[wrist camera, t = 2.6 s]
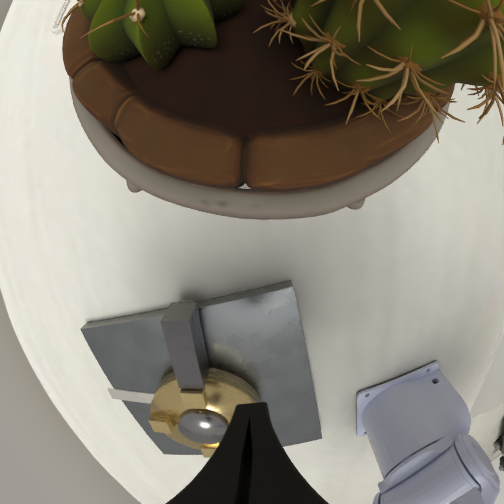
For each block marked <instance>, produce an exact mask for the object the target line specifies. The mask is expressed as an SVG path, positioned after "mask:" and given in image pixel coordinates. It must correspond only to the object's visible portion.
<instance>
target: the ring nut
mask: <svg viewBox="0 0 504 504" xmlns="http://www.w3.org/2000/svg"><path fill="white" fill-rule="evenodd" d="M160 322H161V326H162V330H163V334H164V338H165V341H166V345H167V349H168V353H169V356H170V360H171V363H172V366H173V370H174V371H173V372H171V373H169V374H167V375H166V376H165V377H164V378H163V379H162V380H161V381H160V383H159V385H158V388H157V390H156V392H155V395H154V397H153V399H152V402H151V405H150V413H151V414H150V417H149V419H148V421H149V423H150V425H151V427H152V429H153V431H154V432H159V433H164V434H165V435H167V436H168V437H169V438H171V439H173V440H174V441H176V442H178V443H180V444H182V445H185V446H188V447H191V448H194V449H198V450H201V451H202V454H203V456H204V457H211V456H212V455H213V453H214V451H215V450H216V448H217V446H218V445H219V443H220V441H221V440H222V438H223V436H224V434H225V432H226V430H227V428H228V425H229V423H230V421H231V418H232V416H233V413H234V410H235V407H236V405H238V404H247V403H257V402H260V399H259V396H258V394H257V393H256V391H255V390H254V389H253V388H252V386H250V385H249V384H248V383H247V382H246V381H244V380H243V379H241V378H239V377H238V376H236V375H234V374H231V373H229V372H226V371H223V370H220V369H215V368H209V362H208V357H207V352H206V347H205V342H204V337H203V332H202V326H201V321H200V315H199V309H198V304H197V302H180V303H171V305H170V306H169V308H168V310H167V311H166V313H165V314H164V316H163V317H162V319H161V321H160Z"/></svg>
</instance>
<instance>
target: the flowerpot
mask: <svg viewBox="0 0 504 504" xmlns="http://www.w3.org/2000/svg"><path fill="white" fill-rule="evenodd" d="M77 1H78V3H77V4H76V5H75V6H74V7H72V8H71V9H70V10H71V11H69V12H68V14H67V15H66V16H65V17H64V19H63V21H62V31H63V32H64V36H63V47H62V51H63V61H64V65H65V69H66V72H67V74H68V75H69V79H70V88H71V95H72V99H73V104H74V107H75V110H76V113H77V116H78V118H79V121H80V123H81V125H82V127H83V129H84V131H85V133H86V135H87V136H88V138H89V140H90V141H91V143H92V144H93V146H94V147H95V149H96V150H97V152H98V153H99V154H100V156H101V157H102V158H103V159H104V160H105V162H106V163H107V164H108V165H109V166H110V167H111V168H112V169H113V170H115V171H116V172H117V173H118V174H119V175H121V176H122V177H123V178H125V179H126V180H127V186H128V189H129V190H130V191H131V192H134V193H135V192H139V191H141V190H144V191H145V192H147V193H149V194H151V195H154V196H156V197H158V198H160V199H163V200H165V201H168V202H171V203H174V204H177V205H180V206H184V207H187V208H191V209H195V210H198V211H202V212H207V213H212V214H217V215H221V216H228V217H235V218H244V219H262V220H266V219H294V218H305V217H313V216H319V215H324V214H328V213H331V212H334V211H337V210H339V209H342V208H344V207H346V206H347V207H349V208H351V209H355V210H356V209H359V208H361V207H362V206H363V204H364V201H365V198H366V197H368V196H370V195H372V194H374V193H376V192H378V191H379V190H381V189H383V188H385V187H386V186H388V185H389V184H391V183H392V182H394V181H395V180H397V179H398V178H399V177H400V176H402V175H403V174H404V173H405V172H407V171H408V170H409V169H410V168H411V167H412V166H413V165H414V164H415V163H416V162H417V161H418V160H419V159H420V158H421V157H422V156H423V155H424V153H425V152H426V151H427V150H428V149H429V147H430V146H431V144H432V143H433V142H434V140H435V139H436V137H437V140H438V143H439V138H438V133H439V131H440V129H441V127H442V125H443V123H444V120H445V117H446V115H448V116H450V117H451V118H453V119H455V120H458V121H462V120H460V119H458V118H455V117H453V116H452V115H450V114H449V113H447V112H448V108H449V104H450V103H452V102H456V101H450V100H453V99H451V97H452V94H453V91H454V86H455V83H462V84H463V85H462V88H463V87H464V85H465V84H469V85H474V86H475V87H476V88H467V89H470V90H475V91H476V90H477V92H476V93H473V94H468V95H475V94H478V96H479V93H480V92H482V91H483V89H485V93H484V94H483V95H482V97H480V98H478V99H481V98H483V97H484V96H485V95H486V99H485V100H484V101H483V102H482V103H480V104H479V105H476V106H474V107H471V108H469V109H467V110H470V109H476V108H480V107H481V106H482V105H484V104H485V103H486V106H485V109H484V112H483V114H482V115H481V116H480V117H479V118H480V119H479V121H478V123H479V122H480V120H481V119H482V118H483V117H484V116H485V115H486V114H487V113H488V111H489V110H490V108H491V107H492V105H493V104H494V100H495V101H496V103H497V105H498V108H499V112H500V115H501V120H502V125H503V114H502V111H501V107H500V104H499V101H498V99H499V100H500V101H501V102H502V103H503V104H504V91H503V90H504V0H77ZM71 13H72V14H71ZM70 14H71V16H70V18H69V20H68V23H67V25H66V28H65V31H64V30H63V23H64V22H65V20H66V18H67V17H68V16H69V15H70ZM477 86H483V87H480V88H478V87H477ZM497 87H498V88H497ZM462 88H461V90H462ZM502 88H503V89H502ZM478 90H481V91H479V92H478ZM490 91H491V92H490ZM496 91H497V92H498V93H500V94H501V97H502V99H501V98H500V97H499V95H498V94H497V93H496ZM496 96H497V97H498V99H497V97H496ZM491 98H492V99H491ZM454 99H455V98H454ZM490 99H491V102H490V104H489V105H488V101H489V100H490ZM446 118H447V117H446ZM462 122H464V121H462ZM478 123H477V124H478ZM503 144H504V138H503ZM503 144H502V145H503ZM244 183H246V185H247V186H248V187H250V188H251V189H241V188H239V187H241V186H242V185H244Z"/></svg>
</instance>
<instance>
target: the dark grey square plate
mask: <svg viewBox="0 0 504 504" xmlns="http://www.w3.org/2000/svg"><path fill="white" fill-rule="evenodd" d="M180 302H193V300H189V301H179V303H180ZM197 304H198V309H199V315H200V321H201V326H202V332H203V337H204V342H205V347H206V352H207V357H208V362H209V368H215V369H220V370H223V371H226V372H229V373H231V374H234V375H236V376H238V377H239V378H241V379H243V380H244V381H246V382H247V383H248V384H249V385H250V386H252V388H253V389H254V390H255V391H256V393H257V394H258V396H259V399H260V402H266V403H267V405H268V409H269V414H270V419H271V423H272V426H273V428H274V431H275V433H276V435H277V437H278V439H279V441H280V443H281V445H282V447H284V446H289V445H295V444H300V443H304V442H309V441H313V440H318V439H322V434H321V428H320V422H319V416H318V410H317V404H316V399H315V393H314V387H313V382H312V377H311V371H310V366H309V361H308V355H307V350H306V345H305V340H304V335H303V330H302V325H301V320H300V316H299V311H298V306H297V301H296V297H295V292H294V288H293V284H292V282H291V280H290V281H286V282H282V283H278V284H274V285H270V286H266V287H262V288H257V289H253V290H249V291H245V292H240V293H236V294H232V295H227V296H223V297H218V298H213V299H209V300H204V301H200V302H197ZM167 310H168V308H166V309H161V310H155V311H150V312H145V313H140V314H134V315H129V316H123V317H118V318H112V319H106V320H101V321H95V322H89V323H86V324H85V325H84V326H83V327H82V328H81V331H82V333H83V335H84V337H85V339H86V341H87V343H88V345H89V347H90V349H91V351H92V352H93V354H94V356H95V358H96V360H97V361H98V363H99V365H100V366H101V368H102V370H103V372H104V373H105V375H106V376H107V378H108V380H109V381H110V383H111V384H112V386H113V388H109V387H108V391H109V393H110V395H111V397H112V398H114V399H120V400H122V401H123V402H124V404H125V405H126V407H127V408H128V410H129V411H130V412H131V414H132V415H133V416H134V418H135V419H136V420H137V422H138V423H139V424H140V426H141V427H142V428H143V430H144V431H145V432H146V433H147V435H148V436H149V437H150V438H151V439H152V441H153V442H154V443H155V444H156V445H157V447H158V448H159V449H160V450H161V451H162V452H163V453H164V454H175V455H203V454H202V451H201V450H198V449H194V448H191V447H188V446H185V445H182V444H180V443H178V442H176V441H174V440H173V439H171V438H169V437H168V436H167V435H165V434H164V433H159V432H154V431H153V429H152V427H151V425H150V423H149V421H148V419H149V417H150V414H151V413H150V405H151V402H152V399H153V397H154V395H155V392H156V390H157V388H158V385H159V383H160V381H161V380H162V379H163V378H164V377H165V376H166V375H167V374H169V373H171V372H173V371H174V370H173V366H172V363H171V360H170V356H169V353H168V349H167V345H166V341H165V338H164V334H163V330H162V326H161V322H160V321H161V319H162V317H163V316H164V314H165V313H166V311H167Z"/></svg>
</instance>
